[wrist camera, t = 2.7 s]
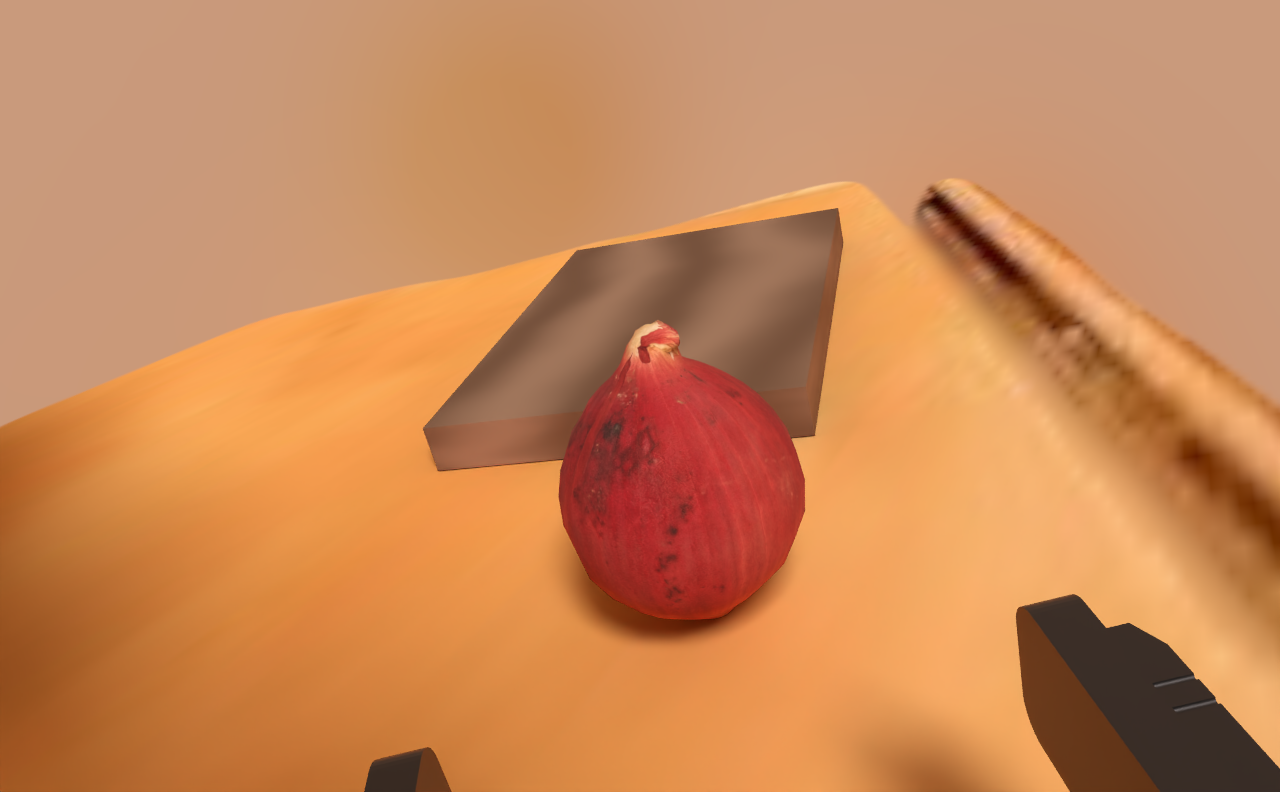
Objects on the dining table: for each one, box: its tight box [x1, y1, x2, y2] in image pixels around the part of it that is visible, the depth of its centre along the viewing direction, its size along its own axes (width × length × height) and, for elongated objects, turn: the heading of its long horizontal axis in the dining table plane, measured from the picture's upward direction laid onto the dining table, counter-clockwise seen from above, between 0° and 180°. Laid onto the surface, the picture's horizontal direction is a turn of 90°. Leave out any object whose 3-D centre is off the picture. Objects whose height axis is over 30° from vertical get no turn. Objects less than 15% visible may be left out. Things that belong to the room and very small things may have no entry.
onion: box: [559, 320, 805, 620], centre depth 24 cm, size 6×6×8 cm
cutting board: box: [423, 208, 843, 471], centre depth 43 cm, size 14×20×2 cm
